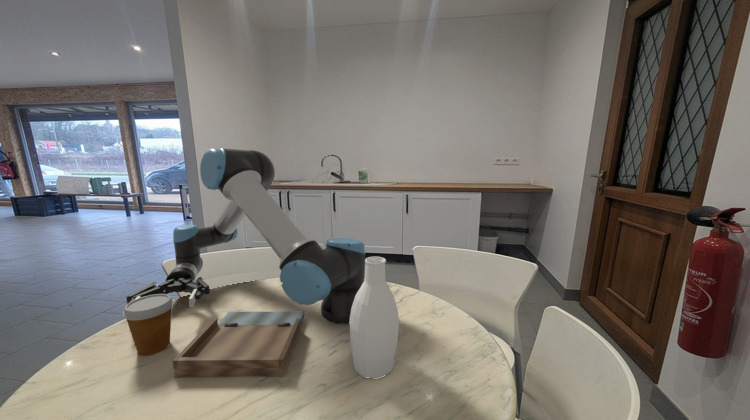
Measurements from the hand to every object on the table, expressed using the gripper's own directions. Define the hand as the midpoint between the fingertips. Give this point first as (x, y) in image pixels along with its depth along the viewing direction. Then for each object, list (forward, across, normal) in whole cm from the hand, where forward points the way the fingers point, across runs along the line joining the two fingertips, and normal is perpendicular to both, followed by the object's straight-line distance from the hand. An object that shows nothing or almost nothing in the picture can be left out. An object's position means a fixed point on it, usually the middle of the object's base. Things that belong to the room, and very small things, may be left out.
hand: (161, 307), depth 74 cm
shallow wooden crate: (+14, -22, -6) cm, 27 cm away
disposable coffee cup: (+8, 0, -7) cm, 10 cm away
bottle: (+33, -49, -7) cm, 59 cm away
